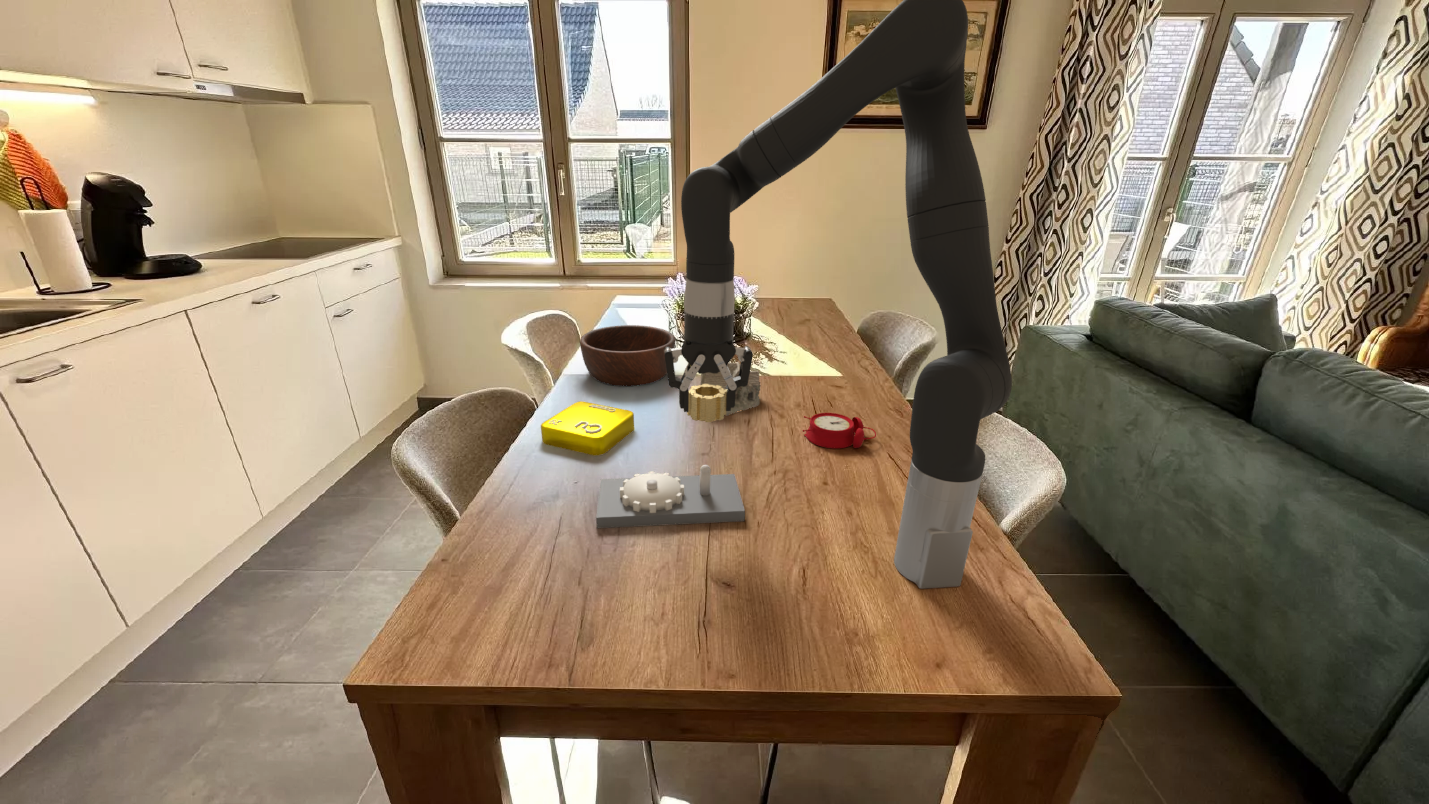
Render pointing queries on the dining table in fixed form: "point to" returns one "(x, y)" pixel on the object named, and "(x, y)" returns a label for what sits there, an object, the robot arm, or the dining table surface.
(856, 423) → the alarm clock
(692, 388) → the brass gear
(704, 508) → the gear board
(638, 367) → the wooden bowl
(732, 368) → the ceramic cottage
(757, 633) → the dining table surface
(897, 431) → the dining table surface
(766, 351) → the dining table surface
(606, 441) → the element tile
